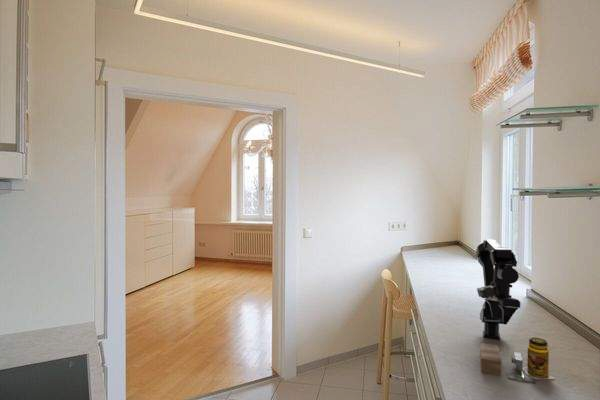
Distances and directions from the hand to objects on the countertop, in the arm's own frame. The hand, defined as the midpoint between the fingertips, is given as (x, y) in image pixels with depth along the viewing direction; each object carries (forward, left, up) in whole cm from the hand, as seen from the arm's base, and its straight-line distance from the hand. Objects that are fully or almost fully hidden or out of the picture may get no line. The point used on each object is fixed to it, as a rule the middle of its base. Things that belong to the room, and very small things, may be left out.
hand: (499, 321), depth 143 cm
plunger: (+14, +5, -12) cm, 19 cm away
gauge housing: (+13, +1, -12) cm, 18 cm away
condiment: (+12, +11, -13) cm, 21 cm away
